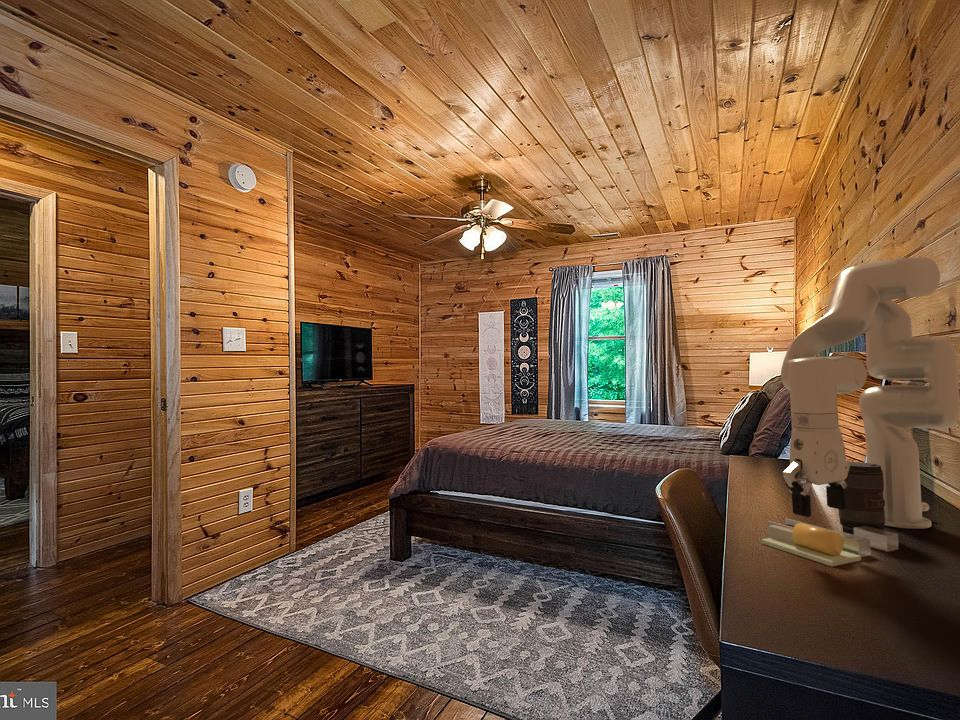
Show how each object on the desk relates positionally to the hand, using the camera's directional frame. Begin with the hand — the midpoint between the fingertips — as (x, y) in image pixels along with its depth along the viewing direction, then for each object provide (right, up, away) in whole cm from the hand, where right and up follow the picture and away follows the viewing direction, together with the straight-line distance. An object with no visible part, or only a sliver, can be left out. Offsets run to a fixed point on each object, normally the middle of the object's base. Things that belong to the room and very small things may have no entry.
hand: (819, 511), depth 96 cm
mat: (-1, -8, +1) cm, 8 cm away
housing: (+7, -8, +9) cm, 14 cm away
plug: (-2, -7, +2) cm, 8 cm away
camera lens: (+17, -9, +12) cm, 22 cm away
